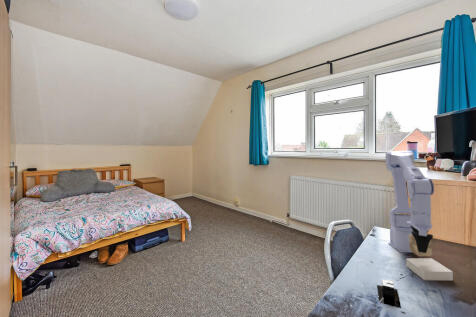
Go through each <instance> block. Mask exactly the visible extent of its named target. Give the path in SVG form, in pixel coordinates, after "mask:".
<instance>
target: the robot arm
mask: <svg viewBox="0 0 476 317" xmlns="http://www.w3.org/2000/svg"><path fill="white" fill-rule="evenodd" d="M414 162H415V153H414V151H413V150H401V151H399V150H398V151H389V150H388V151H387V152H386V153H385V166H386V169H387V170H388V171H389V172H391V176H392V182H393V183H392V185H393V191H394V200H395V207H393V208H391V209H390V210H389V219H388V220H389V224H390V226H391V227H390V229H389V241H388V242H387V243H388V244H389V246H392V247H393V248H394V249H396V250H397V251H399V252H400V253H413V252H412V251H410V245H409V234H412V235H413V236H414V238H415V240H416V244H417V249H418V252H422V253H426V252H427V249H428V245H429V242H430V241H431V242H432V239H433V238H434V235H433V234H430V233H429V231H430V230H431V229H432V227H433V225H432V196H433V195H434V193H435V185H434V182H433V180H432V178H428V177H426V176H425V175H424V173H423V171H422V170H420V168H419V167H417V166H415V165H414ZM409 200H410V201H409ZM409 204H410V205H409Z"/></svg>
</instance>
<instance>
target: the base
mask: <svg viewBox="0 0 476 317" xmlns="http://www.w3.org/2000/svg"><path fill="white" fill-rule="evenodd" d="M405 260H406V261H405V263H406V264H405V265H406V268H408V269H409V270H411V271H412V272H413V273H414V274H416V275H417V276H418V277H420V278H421V279H422V280H424V281H454V272H453V271H452V270H451V269H449V268H447V267H446V266H444V265H443V264H441V263H440V262H438V261H436V260H435V259H433V258H430V257H429V258H425V257H424V258H419V257H418V258H413V257H412V258H405Z"/></svg>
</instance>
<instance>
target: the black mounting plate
mask: <svg viewBox="0 0 476 317" xmlns="http://www.w3.org/2000/svg"><path fill="white" fill-rule="evenodd" d="M376 289H377V298H378V302H379V303H380V304H383V305H385V306H386V305H387V306H390V307H391V306H392V307H394V306H395V307H394V308H397V309H402V305H401V304H402V303H401V300H400V297H399V292H398V289H397V288H395V284H394V282H393V281H392V280H389V279H383V278H382V279H381V285H379V284H376ZM378 296H379V297H378Z"/></svg>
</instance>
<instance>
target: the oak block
mask: <svg viewBox="0 0 476 317" xmlns="http://www.w3.org/2000/svg"><path fill="white" fill-rule="evenodd" d="M409 245H410V251H412V252H411V253H413V254H414V255H417V256H419V257H428V256H429V257H433V251H432V250H433V249H432V240H431V241H430V242H429V245H428V249H427V252H426V253H422V252H418V249H417V244H416V240H415V238H414V236H413V235H412V234H409Z"/></svg>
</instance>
